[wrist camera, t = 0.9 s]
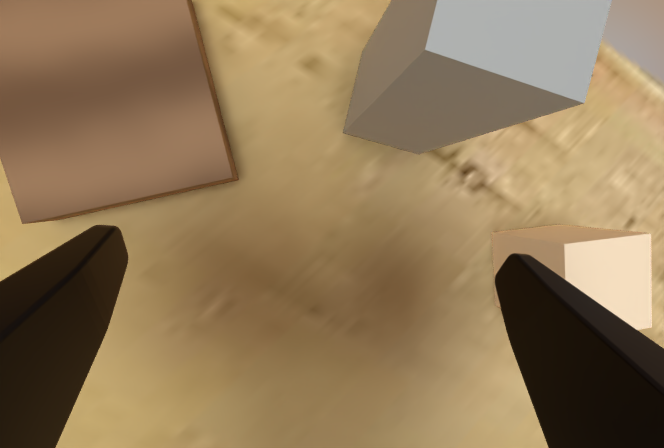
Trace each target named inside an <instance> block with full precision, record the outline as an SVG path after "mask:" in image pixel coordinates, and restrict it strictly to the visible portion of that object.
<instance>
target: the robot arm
mask: <svg viewBox="0 0 664 448" xmlns="http://www.w3.org/2000/svg"><path fill="white" fill-rule="evenodd" d="M127 264H128V253H127V249H126V246H125V243H124V240H123V236H122V233H121V231H120V229H119V228H118V227H116V226H108V225H95V226H93V227H91V228H89V229H88V230H86V231H84V232H83V233H81V234H79V235H78V236H76V237H74V238H73V239H71V240H69V241H67V242H66V243H64V244H62V245H61V246H59V247H57V248H56V249H54V250H52V251H51V252H49V253H47V254H46V255H44V256H42V257H41V258H39V259H37V260H36V261H34V262H32V263H31V264H29V265H27V266H26V267H24V268H22V269H20V270H19V271H17V272H15V273H14V274H12V275H10V276H9V277H7V278H5V279H4V280H2V281H0V448H55V447H56V445H57V443H58V441H59V438H60V436H61V434H62V431H63V429H64V427H65V425H66V422H67V420H68V418H69V416H70V413H71V411H72V409H73V407H74V404H75V402H76V400H77V398H78V395H79V393H80V391H81V388H82V386H83V384H84V382H85V379H86V377H87V375H88V373H89V370H90V368H91V366H92V364H93V361H94V359H95V357H96V355H97V352H98V350H99V348H100V345H101V343H102V341H103V339H104V336H105V334H106V331H107V329H108V326H109V323H110V320H111V317H112V313H113V310H114V307H115V304H116V300H117V297H118V294H119V290H120V287H121V284H122V281H123V277H124V274H125V271H126V267H127ZM495 287H496V291H497V295H498V299H499V303H500V307H501V311H502V314H503V318H504V322H505V326H506V330H507V334H508V337H509V340H510V343H511V346H512V349H513V352H514V355H515V357H516V360H517V363H518V366H519V368H520V371H521V374H522V377H523V379H524V382H525V385H526V387H527V390H528V393H529V396H530V398H531V401H532V404H533V406H534V409H535V412H536V415H537V417H538V420H539V423H540V426H541V428H542V431H543V434H544V436H545V439H546V442H547V445H548V447H549V448H664V349H663V348H662V347H661V346H659V345H658V344H656V343H655V342H653V341H652V340H651V339H649V338H648V337H646V336H645V335H643V334H642V333H641V332H639V331H638V330H636V329H635V328H633V327H632V326H631V325H629V324H628V323H626V322H625V321H623V320H622V319H621V318H619V317H618V316H616V315H615V314H613V313H612V312H611V311H609V310H608V309H606V308H605V307H603V306H602V305H601V304H599V303H598V302H596V301H595V300H593V299H592V298H591V297H589V296H588V295H586V294H585V293H584V292H582V291H581V290H579V289H578V288H576V287H575V286H574V285H572V284H571V283H569V282H568V281H566V280H565V279H564V278H562V277H561V276H559V275H558V274H556V273H555V272H554V271H552V270H551V269H549V268H548V267H546V266H545V265H544V264H542V263H541V262H539V261H538V260H536V259H535V258H534V257H532V256H531V255H528V254H521V253H512V254H510V255H509V256H508V257H507V259H506V260H505V262H504V263H503V264H502V266H501V267H500V269H499V270H498V272H497V273H496V275H495Z"/></svg>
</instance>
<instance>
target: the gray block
mask: <svg viewBox="0 0 664 448" xmlns="http://www.w3.org/2000/svg"><path fill="white" fill-rule="evenodd" d="M611 1H612V0H391V2H390V4H389V6H388V7H387V9H386V11H385V13H384V14H383V16H382V18H381V20H380V21H379V23H378V25H377V27H376V28H375V30H374V32H373V34H372V35H371V37H370V39H369V41H368V42H367V44H366V46H365V48H364V49H363V51H362V56H361V60H360V64H359V68H358V72H357V76H356V81H355V85H354V89H353V93H352V97H351V101H350V105H349V110H348V114H347V118H346V122H345V126H344V130H343V133H345V134H349V135H352V136H356V137H359V138H363V139H367V140H370V141H374V142H377V143H381V144H384V145H388V146H391V147H395V148H399V149H402V150H406V151H409V152H413V153H416V154H421V153H425V152H428V151H431V150H434V149H438V148H441V147H444V146H447V145H451V144H454V143H457V142H460V141H464V140H467V139H470V138H473V137H476V136H480V135H483V134H486V133H489V132H493V131H496V130H499V129H502V128H506V127H509V126H512V125H515V124H519V123H522V122H525V121H528V120H532V119H535V118H538V117H541V116H545V115H548V114H551V113H554V112H558V111H561V110H564V109H567V108H570V107H574V106H577V105H580V104H583V103H585V99H586V95H587V91H588V88H589V84H590V80H591V76H592V73H593V69H594V65H595V62H596V58H597V54H598V50H599V47H600V43H601V39H602V35H603V31H604V28H605V24H606V20H607V17H608V13H609V9H610V5H611Z"/></svg>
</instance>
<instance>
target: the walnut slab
mask: <svg viewBox="0 0 664 448" xmlns="http://www.w3.org/2000/svg"><path fill="white" fill-rule="evenodd" d="M0 159H1V162H2V165H3V168H4V171H5V174H6V177H7V180H8V183H9V186H10V189H11V192H12V195H13V197H14V200H15V203H16V206H17V209H18V212H19V215H20V218H21V221H22V224H26V223H35V222H45V221H54V220H60V219H64V218H69V217H73V216H78V215H82V214H87V213H91V212H96V211H100V210H105V209H109V208H114V207H118V206H123V205H127V204H132V203H136V202H141V201H145V200H150V199H154V198H159V197H163V196H168V195H172V194H177V193H181V192H186V191H190V190H195V189H199V188H203V187H208V186H212V185H217V184H221V183H226V182H230V181H235V180H238V177H237V173H236V169H235V165H234V161H233V157H232V153H231V150H230V146H229V142H228V138H227V134H226V130H225V126H224V123H223V119H222V115H221V111H220V107H219V103H218V99H217V96H216V92H215V88H214V84H213V80H212V76H211V72H210V69H209V65H208V61H207V57H206V53H205V49H204V45H203V42H202V38H201V34H200V30H199V26H198V22H197V18H196V15H195V11H194V7H193V3H192V0H0Z"/></svg>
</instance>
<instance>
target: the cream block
mask: <svg viewBox="0 0 664 448" xmlns="http://www.w3.org/2000/svg"><path fill="white" fill-rule="evenodd" d="M492 251H493V271H494V292H495V306H497V307H499V308H501V307H500V303H499V299H498V295H497V291H496V287H495V275H496V273H497V272H498V270H499V269H500V267H501V266H502V264H503V263H504V262H505V260H506V259H507V257H508V256H509V255H510V254H512V253H521V254H528V255H531V256H532V257H534V258H535V259H536V260H538V261H539V262H541V263H542V264H544V265H545V266H546V267H548V268H549V269H551V270H552V271H554V272H555V273H556V274H558V275H559V276H561V277H562V278H564V279H565V280H566V281H568V282H569V283H571V284H572V285H574V286H575V287H576V288H578V289H579V290H581V291H582V292H584V293H585V294H586V295H588V296H589V297H591V298H592V299H593V300H595V301H596V302H598V303H599V304H601V305H602V306H603V307H605V308H606V309H608V310H609V311H611V312H612V313H613V314H615V315H616V316H618V317H619V318H621V319H622V320H623V321H625V322H626V323H628V324H629V325H631V326H632V327H633V328H635V329H636V330H639V329H645V328H651V327H652V301H651V233H642V232H632V231H621V230H611V229H601V228H591V227H580V226H570V225H560V224H558V225H550V226H541V227H532V228H524V229H515V230H506V231H498V232H492Z"/></svg>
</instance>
